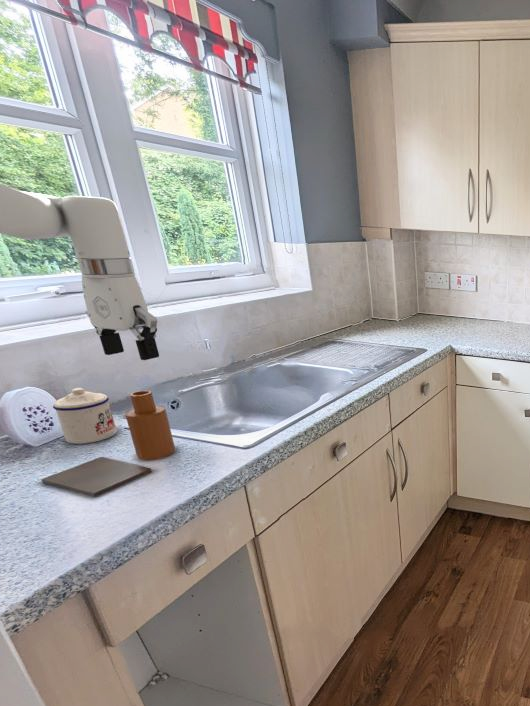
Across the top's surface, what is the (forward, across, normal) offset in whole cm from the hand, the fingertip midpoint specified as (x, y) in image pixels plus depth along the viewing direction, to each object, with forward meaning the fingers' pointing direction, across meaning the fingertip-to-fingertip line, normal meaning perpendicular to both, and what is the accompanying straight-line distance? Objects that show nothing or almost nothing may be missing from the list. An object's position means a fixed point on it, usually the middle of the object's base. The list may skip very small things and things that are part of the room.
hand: (132, 355), depth 91 cm
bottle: (+22, 0, 0) cm, 22 cm away
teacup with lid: (+22, -22, +2) cm, 32 cm away
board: (+22, 0, -11) cm, 25 cm away
